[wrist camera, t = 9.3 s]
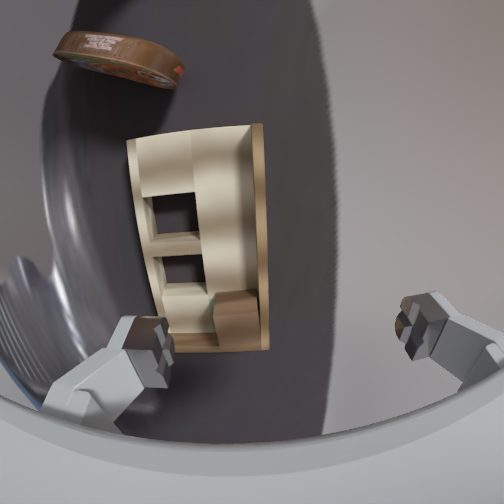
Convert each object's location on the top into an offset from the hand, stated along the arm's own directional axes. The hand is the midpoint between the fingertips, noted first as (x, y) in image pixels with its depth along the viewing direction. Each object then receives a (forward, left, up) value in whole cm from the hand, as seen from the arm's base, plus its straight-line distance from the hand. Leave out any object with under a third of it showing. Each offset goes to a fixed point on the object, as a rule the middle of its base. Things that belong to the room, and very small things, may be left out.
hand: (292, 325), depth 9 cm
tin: (-16, -13, -22) cm, 30 cm away
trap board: (+5, -6, -22) cm, 23 cm away
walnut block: (+12, -3, -19) cm, 23 cm away
